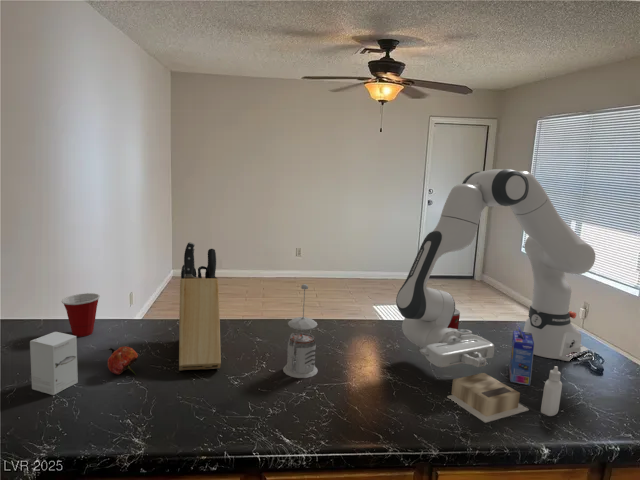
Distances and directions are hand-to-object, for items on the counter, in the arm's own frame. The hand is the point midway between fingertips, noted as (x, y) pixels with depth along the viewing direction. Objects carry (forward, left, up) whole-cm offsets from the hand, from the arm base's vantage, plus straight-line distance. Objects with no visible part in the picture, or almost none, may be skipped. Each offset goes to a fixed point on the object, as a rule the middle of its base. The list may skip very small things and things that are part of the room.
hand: (482, 363), depth 124 cm
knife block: (+59, -55, -10) cm, 82 cm away
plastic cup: (+90, -80, -10) cm, 121 cm away
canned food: (-19, -34, -10) cm, 40 cm away
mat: (0, +3, -10) cm, 10 cm away
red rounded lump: (+81, -47, -10) cm, 94 cm away
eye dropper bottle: (-12, +12, -10) cm, 20 cm away
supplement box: (+97, -45, -10) cm, 107 cm away
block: (0, -4, -7) cm, 8 cm away
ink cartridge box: (-21, -5, -10) cm, 24 cm away
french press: (+37, -31, -10) cm, 49 cm away
